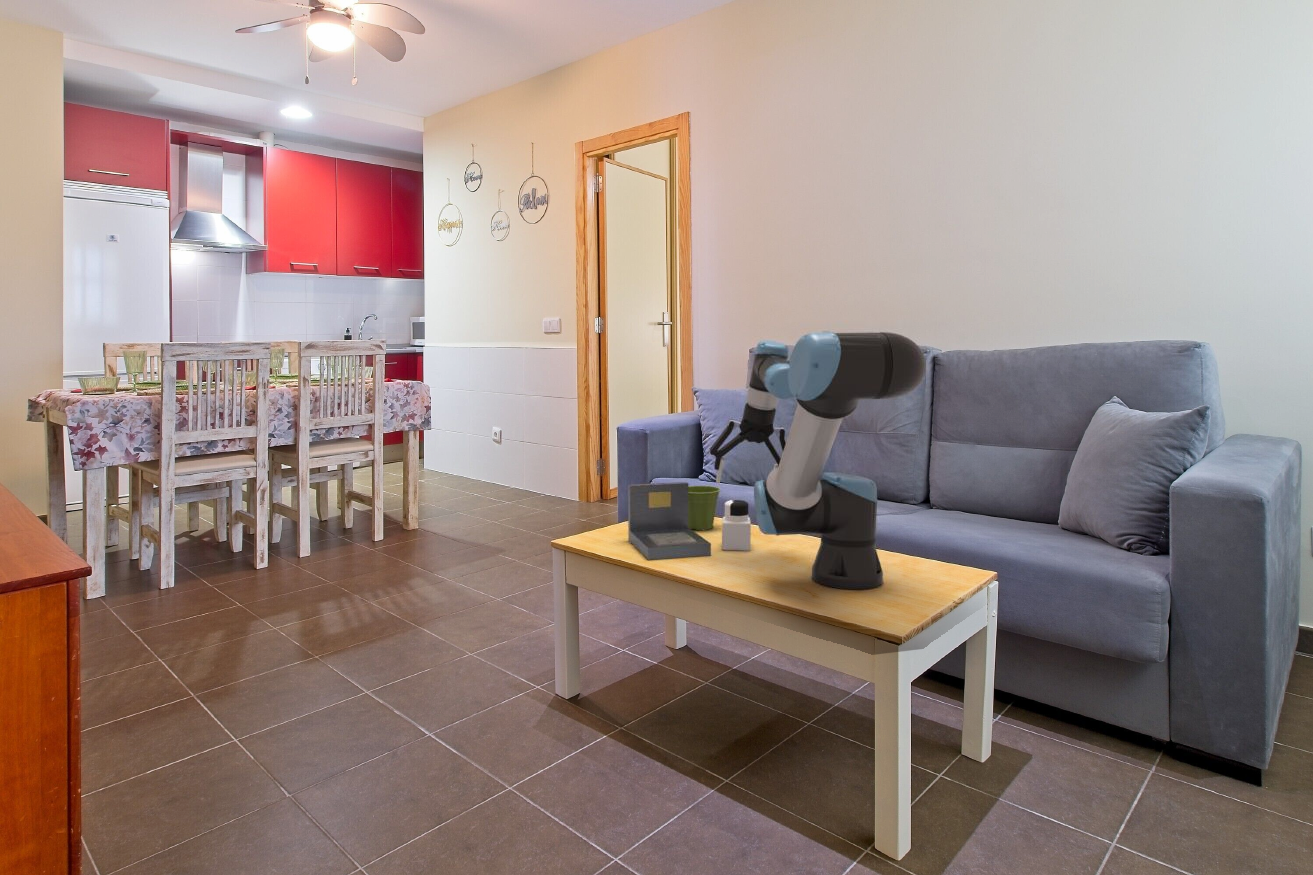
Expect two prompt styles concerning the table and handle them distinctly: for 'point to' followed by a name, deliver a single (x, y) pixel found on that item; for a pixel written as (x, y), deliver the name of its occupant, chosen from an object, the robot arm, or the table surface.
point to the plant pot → (702, 506)
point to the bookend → (662, 522)
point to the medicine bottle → (736, 526)
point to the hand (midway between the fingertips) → (744, 486)
